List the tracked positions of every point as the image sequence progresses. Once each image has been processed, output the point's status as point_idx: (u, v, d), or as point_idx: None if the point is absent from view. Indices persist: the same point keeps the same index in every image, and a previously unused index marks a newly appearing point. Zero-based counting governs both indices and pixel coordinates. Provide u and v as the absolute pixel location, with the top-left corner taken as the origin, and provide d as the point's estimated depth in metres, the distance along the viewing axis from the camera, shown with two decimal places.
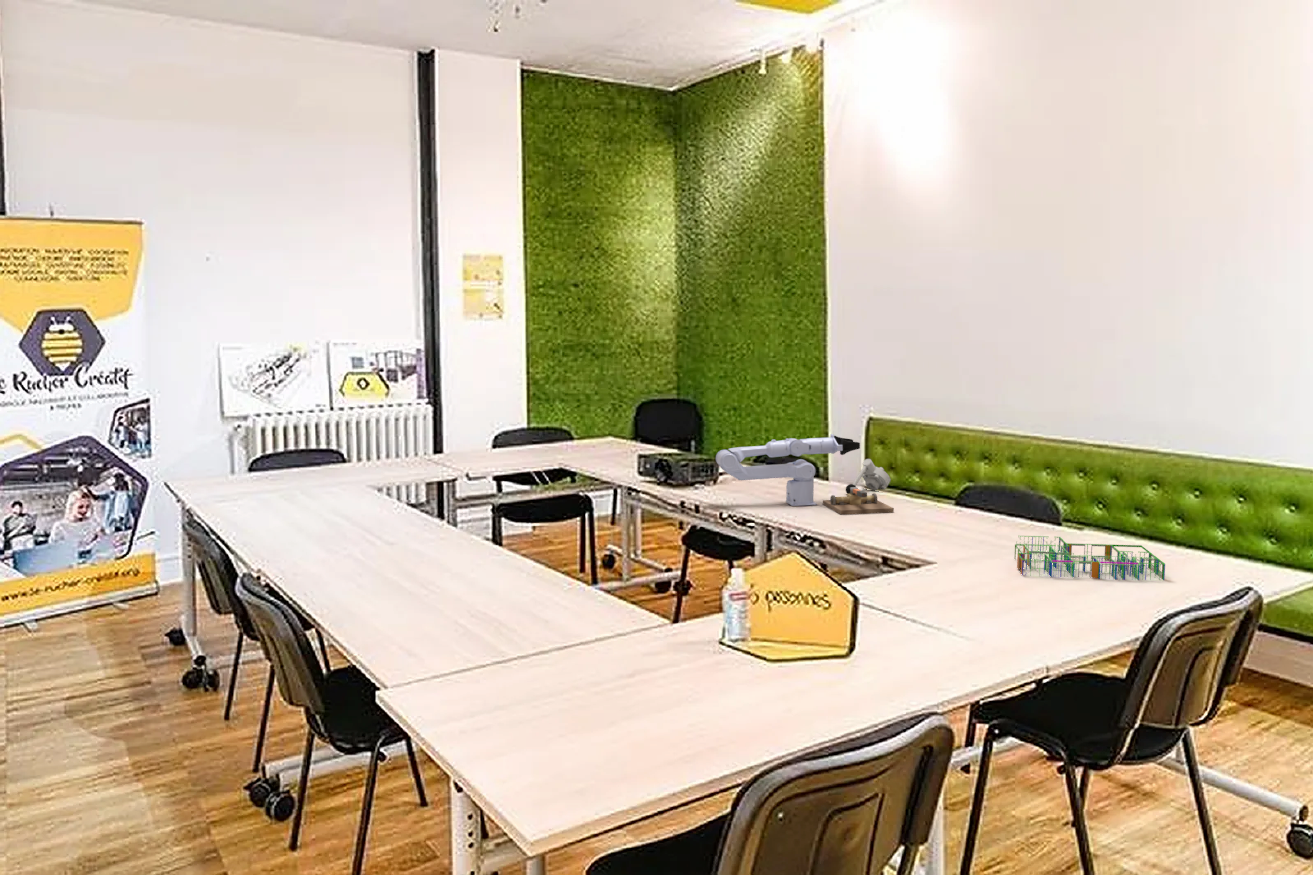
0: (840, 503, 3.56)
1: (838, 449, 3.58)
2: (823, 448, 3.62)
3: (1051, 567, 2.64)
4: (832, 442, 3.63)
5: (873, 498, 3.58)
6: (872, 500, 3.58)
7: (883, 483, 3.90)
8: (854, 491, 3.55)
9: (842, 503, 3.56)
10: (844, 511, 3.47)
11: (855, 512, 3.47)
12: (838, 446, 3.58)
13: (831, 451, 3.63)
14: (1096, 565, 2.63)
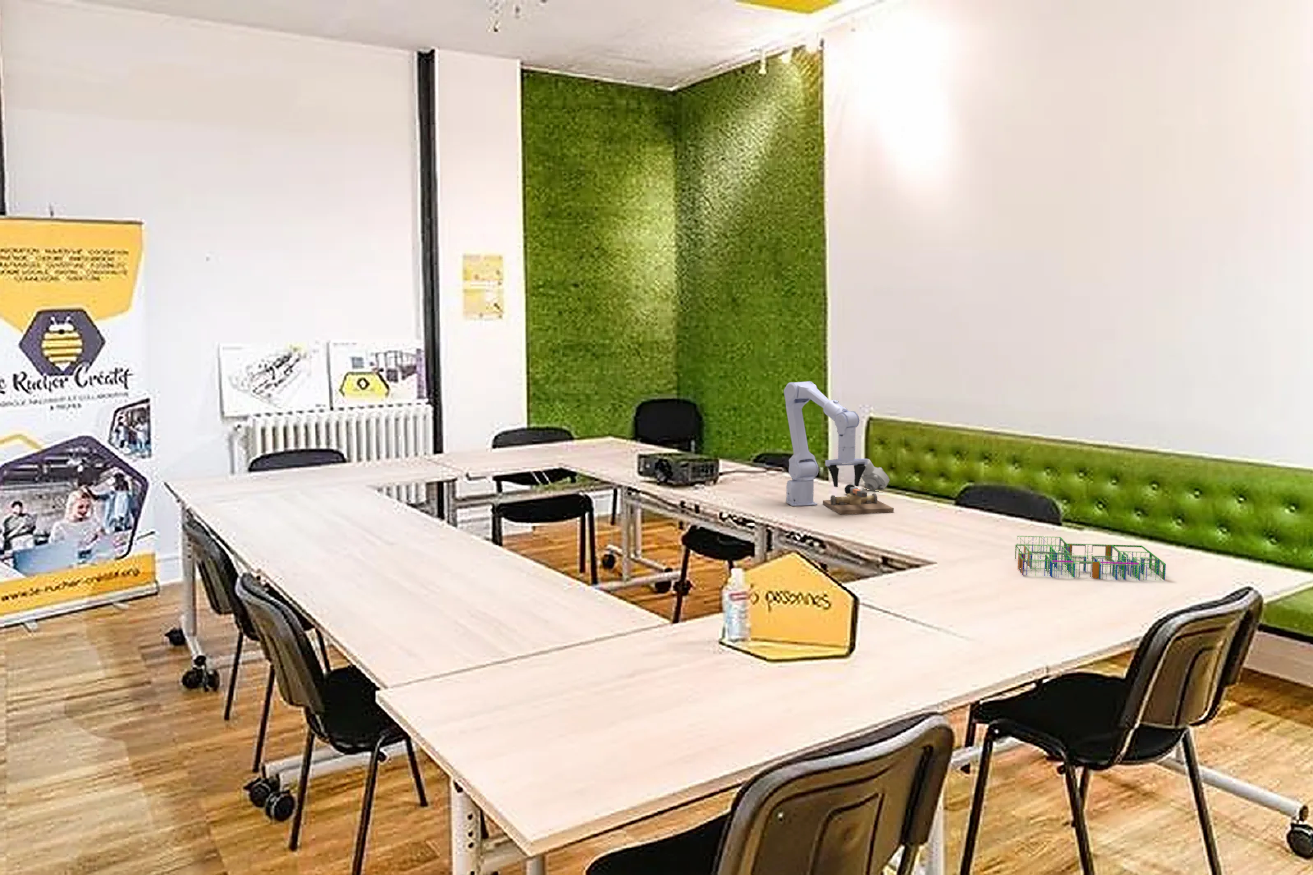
0: (840, 503, 3.56)
1: (825, 461, 3.46)
2: (838, 448, 3.46)
3: (1052, 567, 2.64)
4: (840, 459, 3.45)
5: (873, 498, 3.58)
6: (872, 500, 3.58)
7: (882, 483, 3.90)
8: (854, 491, 3.55)
9: (842, 503, 3.56)
10: (844, 511, 3.47)
11: (855, 512, 3.47)
12: (826, 461, 3.45)
13: None
14: (1096, 565, 2.63)
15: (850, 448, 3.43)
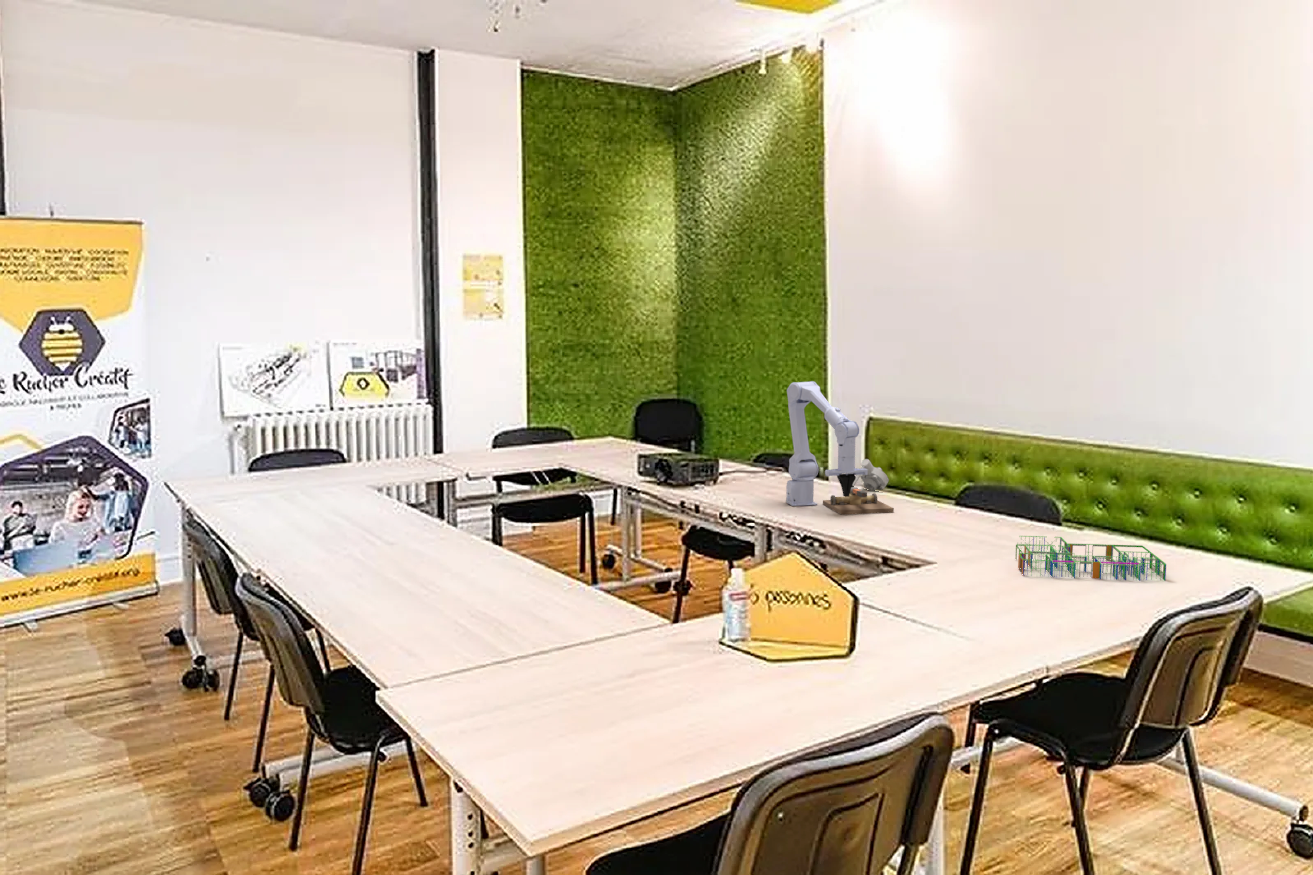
0: (840, 503, 3.56)
1: (825, 471, 3.46)
2: (838, 458, 3.47)
3: (1052, 567, 2.64)
4: (840, 469, 3.45)
5: (873, 498, 3.58)
6: (872, 500, 3.58)
7: (881, 483, 3.90)
8: (854, 491, 3.55)
9: (842, 503, 3.56)
10: (844, 511, 3.47)
11: (855, 512, 3.47)
12: (826, 471, 3.45)
13: None
14: (1097, 565, 2.63)
15: (850, 458, 3.44)
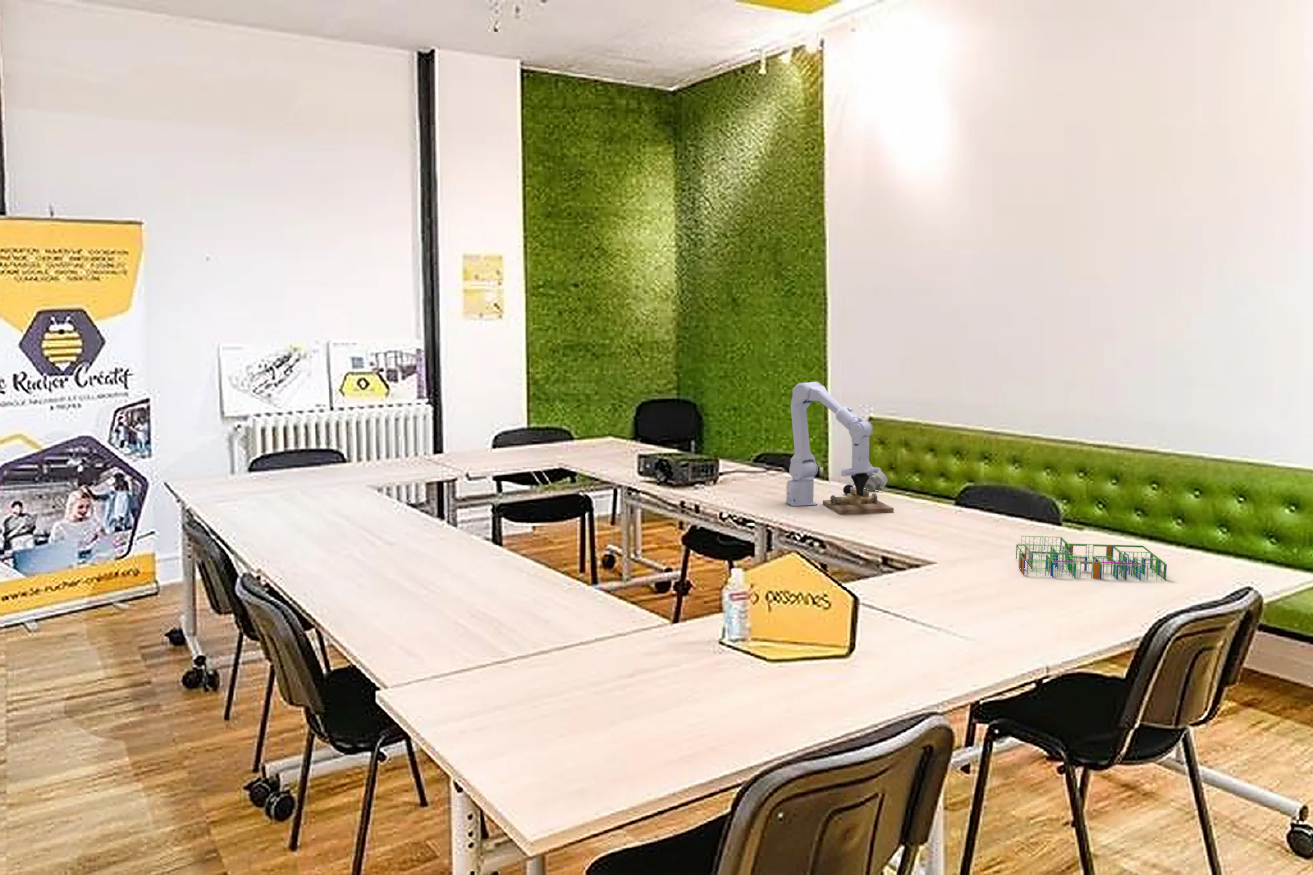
0: (840, 503, 3.56)
1: (842, 471, 3.45)
2: (852, 458, 3.47)
3: (1052, 567, 2.64)
4: (856, 469, 3.46)
5: (873, 498, 3.58)
6: (872, 500, 3.58)
7: (880, 483, 3.90)
8: (855, 491, 3.55)
9: (842, 503, 3.56)
10: (844, 511, 3.47)
11: (855, 512, 3.47)
12: (844, 471, 3.44)
13: None
14: (1097, 565, 2.63)
15: (866, 457, 3.45)
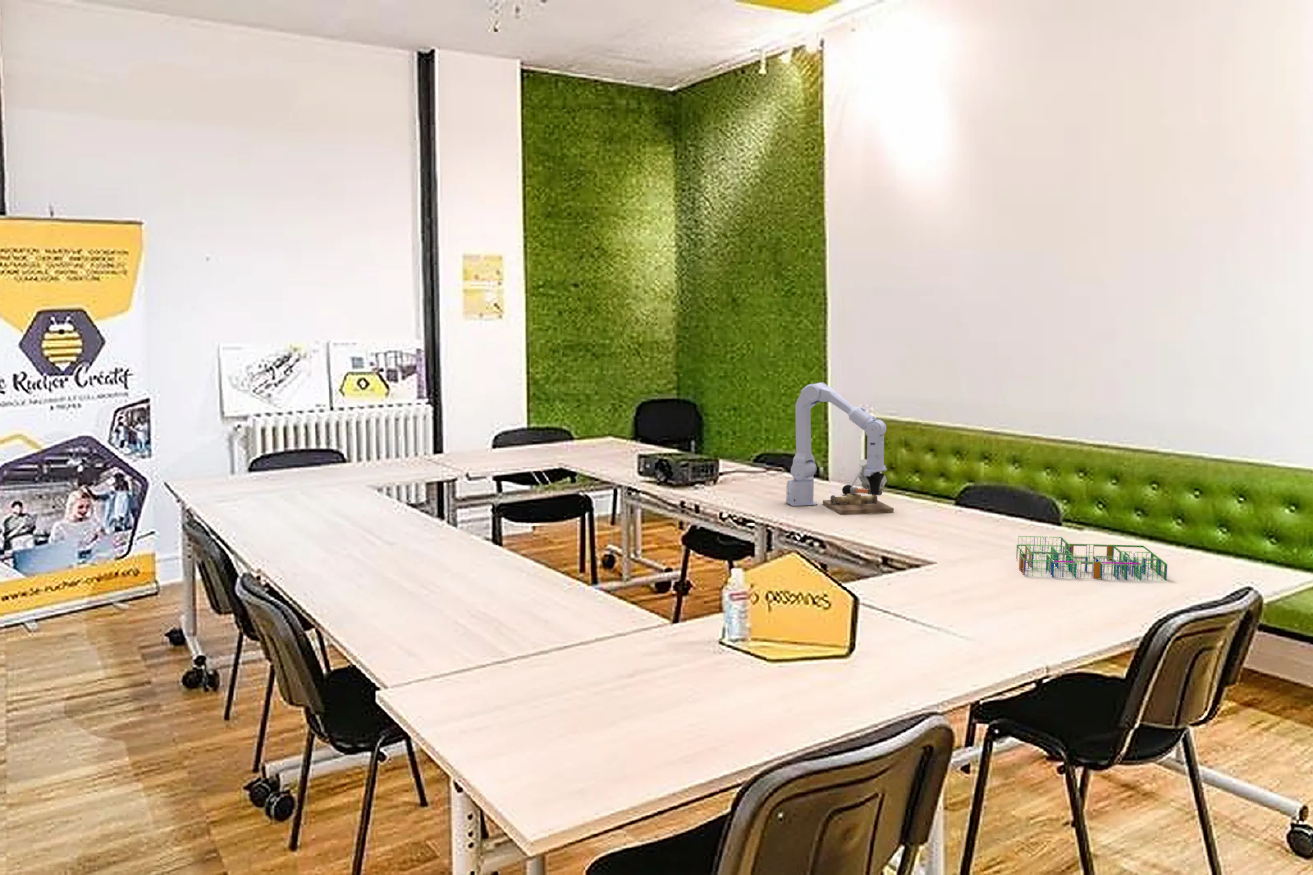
0: (840, 503, 3.56)
1: (865, 471, 3.45)
2: (870, 457, 3.48)
3: (1053, 567, 2.64)
4: (876, 468, 3.48)
5: (873, 498, 3.58)
6: (872, 500, 3.58)
7: None
8: (860, 491, 3.55)
9: (842, 503, 3.56)
10: (844, 511, 3.47)
11: (855, 512, 3.47)
12: (868, 471, 3.44)
13: (867, 466, 3.50)
14: (1098, 565, 2.63)
15: (883, 456, 3.49)
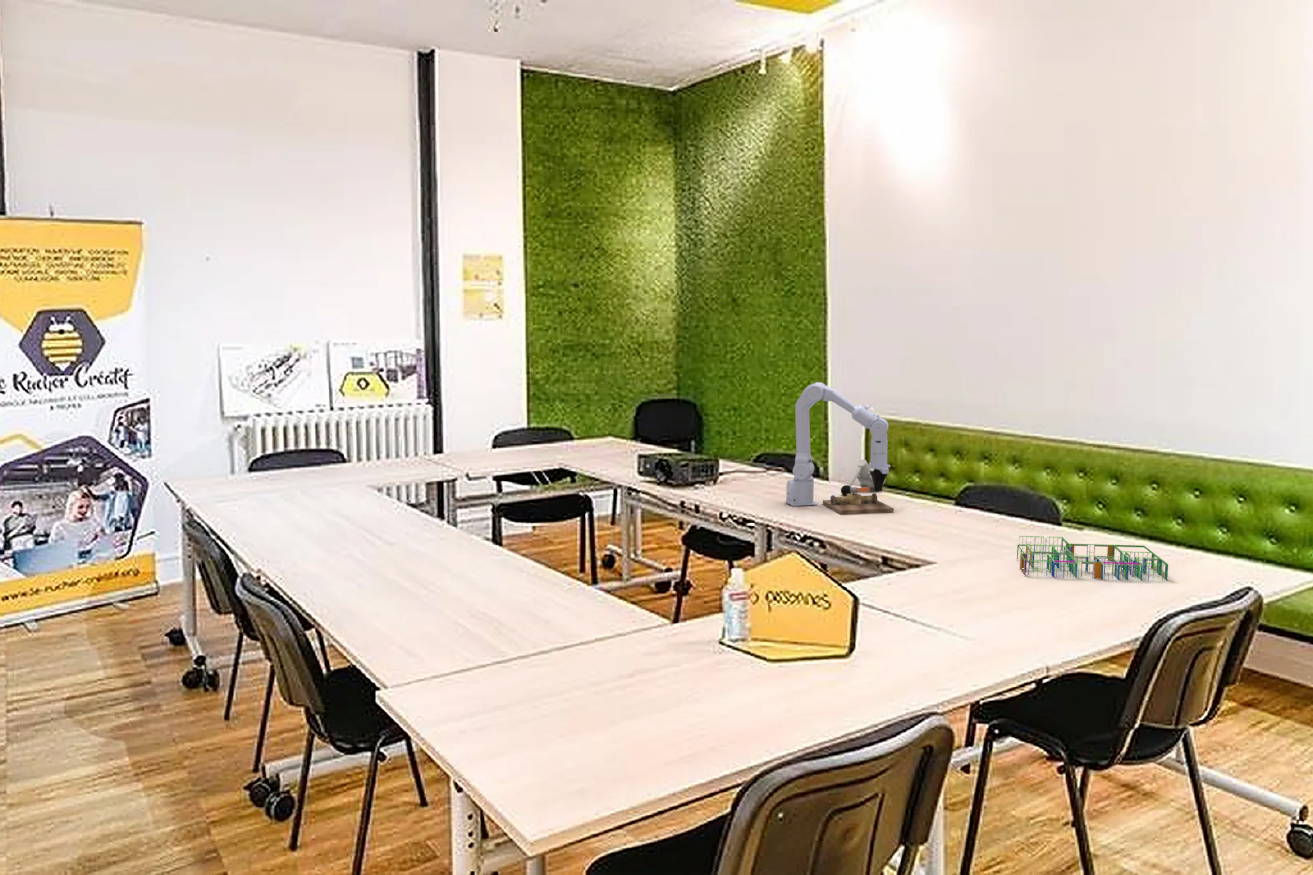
0: (840, 503, 3.56)
1: (884, 469, 3.49)
2: (880, 455, 3.53)
3: (1054, 567, 2.64)
4: (885, 465, 3.54)
5: (873, 498, 3.58)
6: (872, 500, 3.58)
7: None
8: (861, 490, 3.57)
9: (842, 503, 3.56)
10: (844, 511, 3.47)
11: (855, 512, 3.47)
12: (887, 469, 3.49)
13: (875, 464, 3.54)
14: (1098, 565, 2.63)
15: None
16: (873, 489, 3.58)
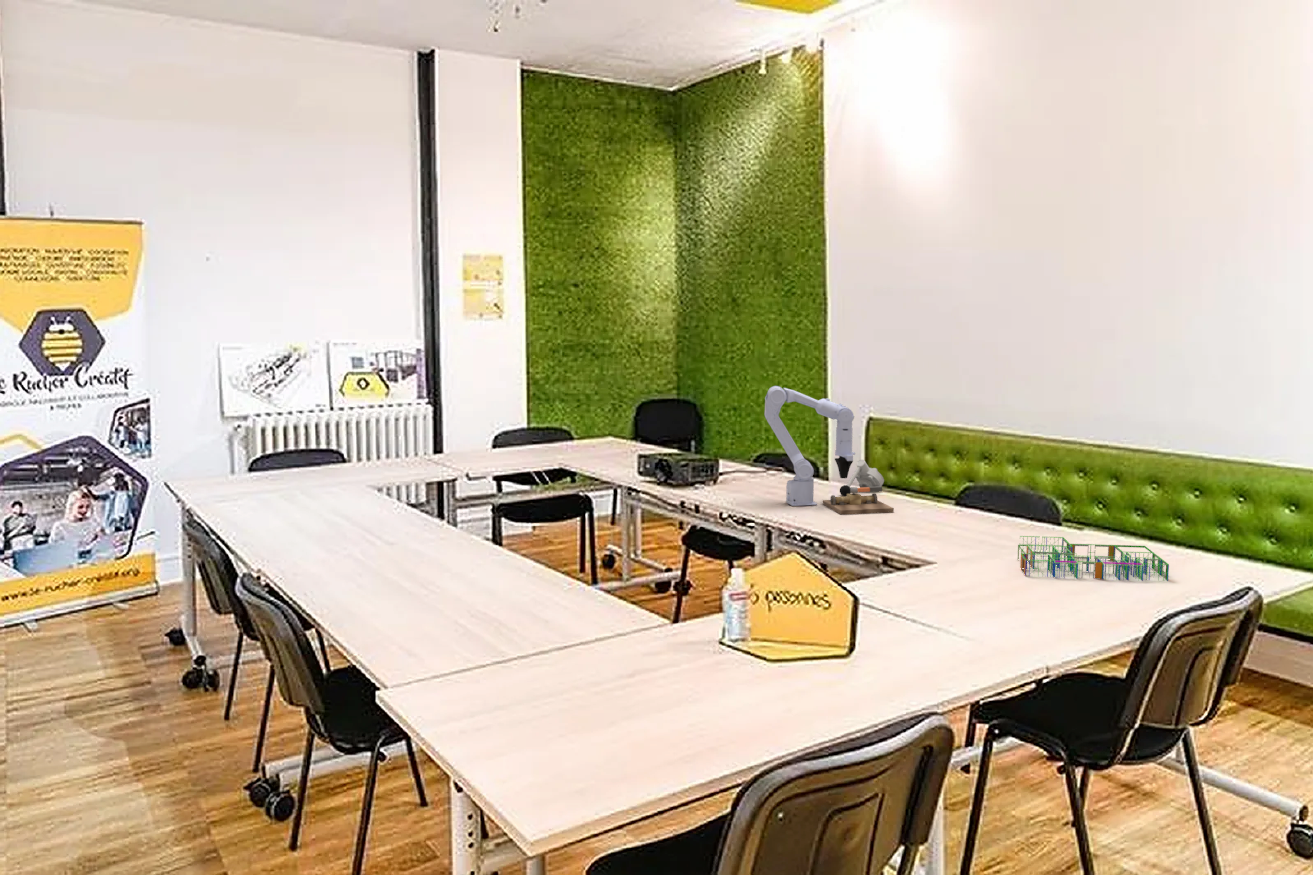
0: (840, 503, 3.56)
1: (849, 456, 3.56)
2: (845, 443, 3.60)
3: (1054, 567, 2.64)
4: (849, 452, 3.61)
5: (873, 498, 3.58)
6: (872, 500, 3.58)
7: (877, 484, 3.88)
8: (861, 490, 3.57)
9: (842, 503, 3.56)
10: (844, 511, 3.47)
11: (855, 512, 3.47)
12: (852, 456, 3.57)
13: (840, 452, 3.61)
14: (1099, 566, 2.63)
15: None
16: (873, 489, 3.58)
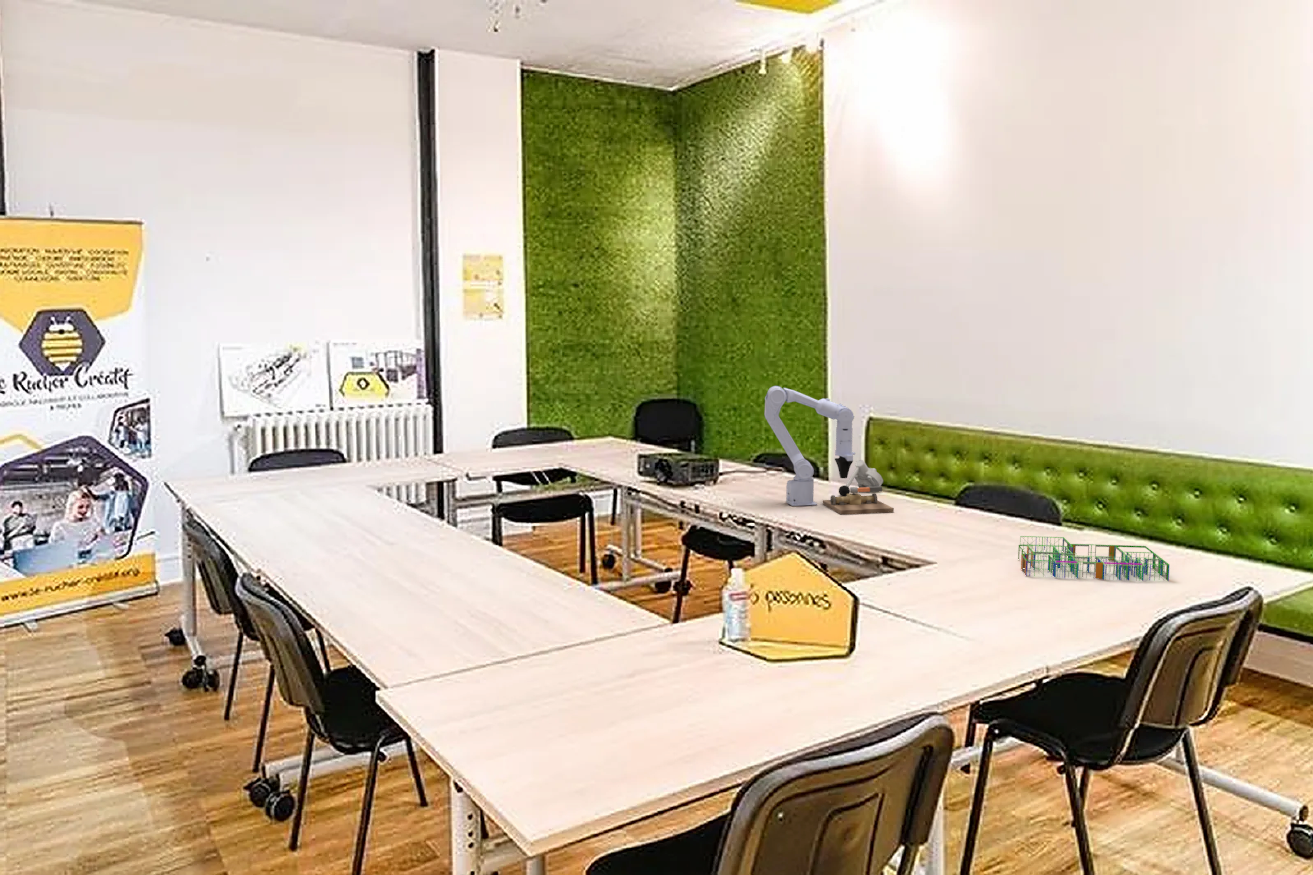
0: (840, 503, 3.56)
1: (849, 456, 3.56)
2: (844, 443, 3.60)
3: (1055, 568, 2.64)
4: (849, 452, 3.61)
5: (873, 498, 3.58)
6: (872, 500, 3.58)
7: (876, 484, 3.88)
8: (861, 490, 3.57)
9: (842, 503, 3.56)
10: (844, 511, 3.47)
11: (855, 512, 3.47)
12: (852, 456, 3.57)
13: (840, 452, 3.61)
14: (1100, 566, 2.62)
15: None
16: (873, 489, 3.58)
